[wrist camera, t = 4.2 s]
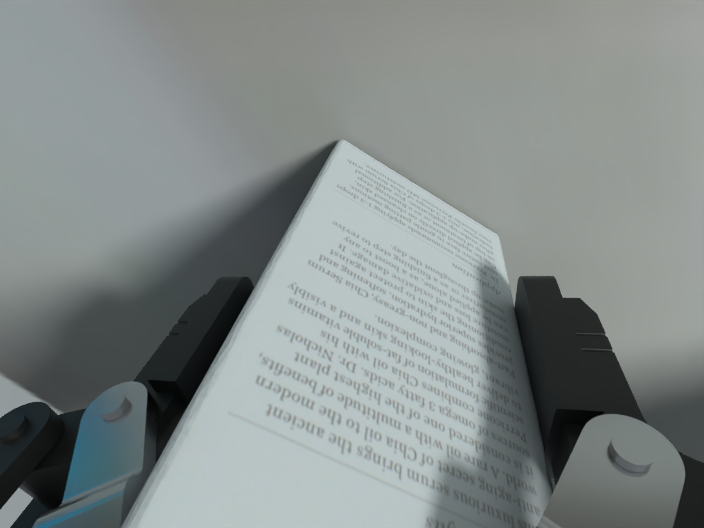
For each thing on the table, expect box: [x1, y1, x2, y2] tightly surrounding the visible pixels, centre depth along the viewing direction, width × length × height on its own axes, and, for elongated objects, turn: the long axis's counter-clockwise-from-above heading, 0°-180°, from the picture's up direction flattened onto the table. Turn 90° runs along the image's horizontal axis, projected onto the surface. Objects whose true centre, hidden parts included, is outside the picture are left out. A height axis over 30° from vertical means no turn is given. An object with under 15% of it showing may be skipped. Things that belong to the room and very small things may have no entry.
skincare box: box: [121, 140, 553, 528], centre depth 8 cm, size 6×4×12 cm
